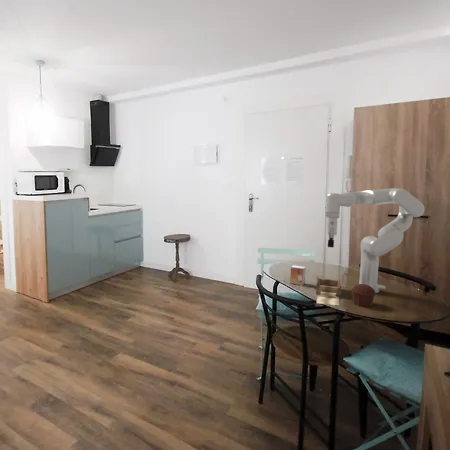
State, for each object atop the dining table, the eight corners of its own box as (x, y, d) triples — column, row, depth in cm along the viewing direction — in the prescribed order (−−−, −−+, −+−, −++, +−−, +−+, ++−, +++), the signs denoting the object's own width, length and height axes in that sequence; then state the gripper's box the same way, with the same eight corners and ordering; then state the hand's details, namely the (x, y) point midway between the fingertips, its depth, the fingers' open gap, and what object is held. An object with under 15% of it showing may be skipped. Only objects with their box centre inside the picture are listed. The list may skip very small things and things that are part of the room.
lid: (338, 298, 189) (339, 292, 188) (339, 307, 175) (339, 301, 175) (317, 295, 192) (317, 290, 192) (316, 304, 179) (316, 298, 178)
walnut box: (339, 288, 204) (340, 278, 203) (340, 297, 189) (341, 286, 188) (316, 286, 208) (317, 276, 207) (316, 294, 192) (316, 283, 192)
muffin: (346, 303, 180) (348, 284, 178) (356, 298, 187) (357, 280, 186) (369, 309, 171) (371, 289, 170) (378, 304, 179) (380, 285, 178)
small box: (289, 283, 212) (290, 266, 211) (292, 281, 217) (293, 264, 216) (302, 285, 208) (303, 268, 207) (305, 283, 213) (306, 266, 212)
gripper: (340, 216, 188) (337, 249, 191) (339, 214, 203) (337, 245, 205) (325, 216, 190) (323, 248, 193) (325, 213, 205) (323, 244, 207)
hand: (330, 246), depth 199 cm, fingers closed
